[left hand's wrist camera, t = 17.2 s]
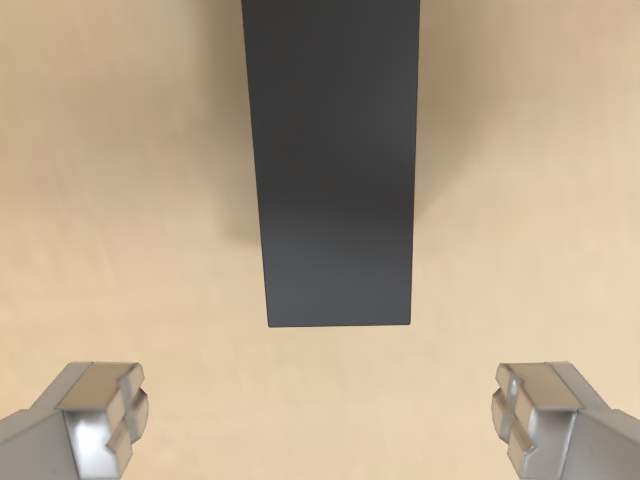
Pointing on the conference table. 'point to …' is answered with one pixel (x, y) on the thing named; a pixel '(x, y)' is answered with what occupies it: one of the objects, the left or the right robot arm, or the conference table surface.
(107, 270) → the conference table surface
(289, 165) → the box
